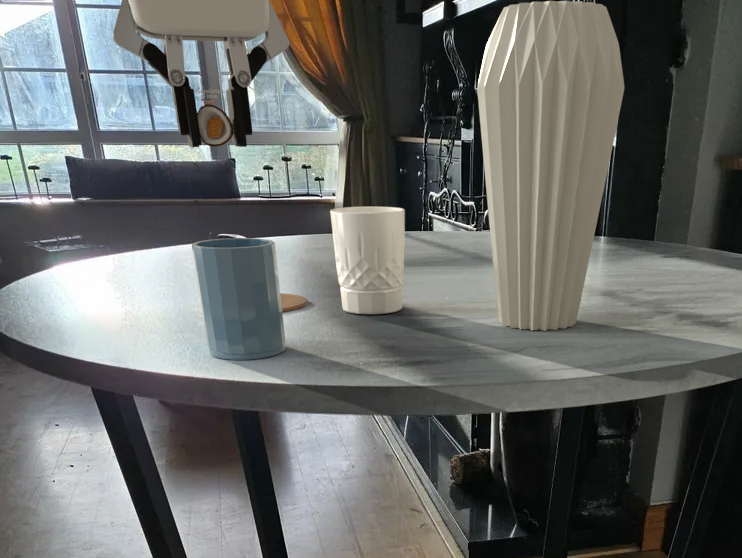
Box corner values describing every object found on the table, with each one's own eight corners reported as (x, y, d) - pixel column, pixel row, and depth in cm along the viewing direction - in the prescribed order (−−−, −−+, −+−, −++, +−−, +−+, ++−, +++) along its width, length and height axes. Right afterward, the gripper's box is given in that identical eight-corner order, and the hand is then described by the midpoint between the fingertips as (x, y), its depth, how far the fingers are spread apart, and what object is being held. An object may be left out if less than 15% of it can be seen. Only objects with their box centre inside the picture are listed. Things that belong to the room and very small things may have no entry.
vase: (541, 343, 73) (562, -9, 59) (446, 321, 81) (446, 8, 68) (627, 323, 81) (663, 6, 67) (532, 304, 89) (547, 20, 75)
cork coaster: (224, 316, 84) (224, 312, 84) (213, 300, 92) (212, 296, 91) (315, 309, 87) (315, 305, 87) (297, 294, 95) (297, 290, 95)
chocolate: (242, 145, 64) (235, 87, 62) (232, 146, 62) (224, 86, 60) (208, 146, 64) (199, 88, 62) (197, 146, 62) (187, 87, 60)
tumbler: (214, 363, 67) (196, 250, 63) (205, 345, 73) (188, 240, 68) (292, 355, 69) (280, 245, 65) (277, 339, 75) (266, 236, 70)
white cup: (397, 300, 91) (394, 205, 86) (415, 313, 85) (413, 211, 80) (331, 304, 89) (324, 207, 84) (344, 318, 83) (337, 214, 78)
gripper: (283, -136, 59) (306, 145, 69) (49, -160, 54) (109, 146, 63) (304, -165, 53) (327, 146, 63) (43, -196, 48) (111, 148, 58)
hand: (217, 143), depth 63 cm, fingers closed on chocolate, 3 cm apart
